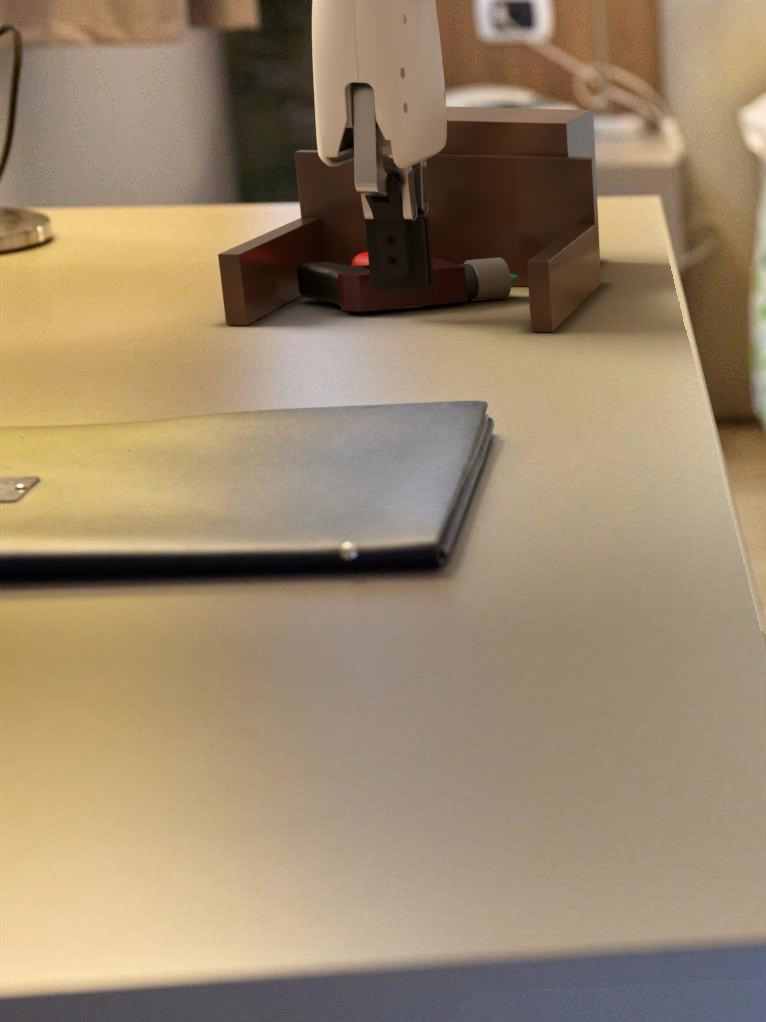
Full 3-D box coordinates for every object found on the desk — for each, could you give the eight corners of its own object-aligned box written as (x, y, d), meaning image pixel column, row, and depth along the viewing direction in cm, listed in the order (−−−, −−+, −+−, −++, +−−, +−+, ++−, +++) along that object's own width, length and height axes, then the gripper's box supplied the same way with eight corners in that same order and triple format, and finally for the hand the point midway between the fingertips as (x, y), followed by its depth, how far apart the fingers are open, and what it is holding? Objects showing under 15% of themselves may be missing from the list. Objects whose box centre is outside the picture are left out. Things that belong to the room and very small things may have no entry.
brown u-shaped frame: (225, 325, 110) (204, 143, 107) (355, 254, 134) (342, 103, 130) (552, 332, 111) (541, 151, 107) (625, 261, 134) (618, 110, 131)
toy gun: (532, 300, 120) (528, 220, 118) (342, 320, 113) (334, 235, 111) (464, 277, 127) (458, 201, 125) (280, 294, 119) (271, 213, 118)
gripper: (347, -54, 113) (375, 265, 119) (258, -51, 99) (295, 310, 105) (477, -50, 113) (498, 268, 120) (406, -47, 99) (434, 314, 106)
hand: (402, 287), depth 113 cm, fingers closed
